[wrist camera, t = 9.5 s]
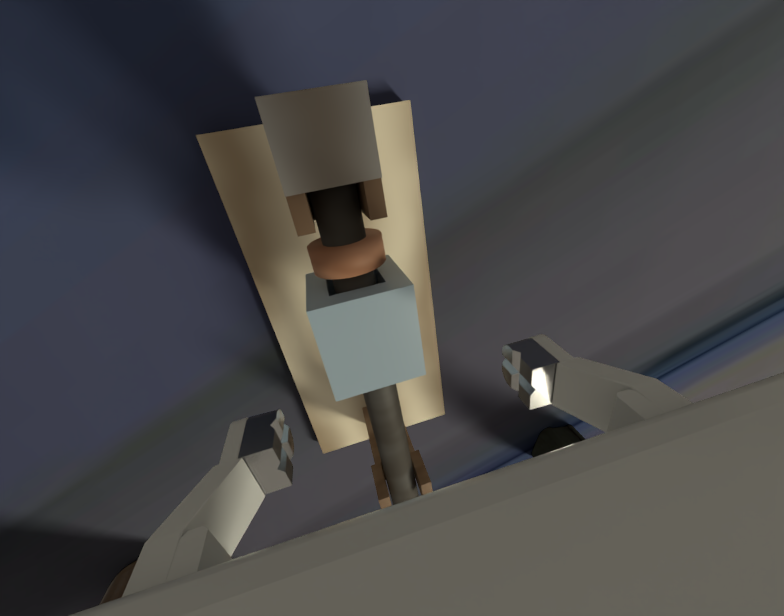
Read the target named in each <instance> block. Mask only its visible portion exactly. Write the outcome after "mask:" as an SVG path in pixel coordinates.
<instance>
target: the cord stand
mask: <svg viewBox="0 0 784 616" xmlns="http://www.w3.org/2000/svg"><path fill="white" fill-rule="evenodd" d="M255 100H256V103H257V107H258V110H259V113H260V117H261V120H262V123H263V124H261V125H255V126H249V127H243V128H237V129H231V130H225V131H219V132H212V133H206V134H200V135H196V137H197V140H198V142H199V145H200V147H201V150H202V152H203V155H204V157H205V160H206V162H207V165H208V167H209V170H210V172H211V174H212V177H213V179H214V182H215V184H216V187H217V189H218V192H219V194H220V197H221V199H222V202H223V204H224V207H225V209H226V212H227V214H228V217H229V219H230V222H231V224H232V227H233V229H234V232H235V234H236V237H237V239H238V242H239V244H240V247H241V249H242V252H243V254H244V257H245V259H246V262H247V264H248V267H249V269H250V272H251V274H252V277H253V279H254V282H255V284H256V287H257V289H258V292H259V294H260V297H261V299H262V302H263V304H264V307H265V309H266V312H267V314H268V317H269V319H270V322H271V324H272V327H273V329H274V332H275V334H276V337H277V339H278V342H279V344H280V347H281V349H282V352H283V354H284V357H285V359H286V362H287V364H288V367H289V369H290V371H291V374H292V376H293V379H294V381H295V384H296V386H297V389H298V391H299V394H300V396H301V399H302V401H303V404H304V406H305V409H306V411H307V414H308V416H309V419H310V421H311V424H312V426H313V429H314V431H315V434H316V436H317V439H318V441H319V444H320V446H321V449H322V451H323V454H324V453H327V452H330V451H333V450H336V449H339V448H342V447H345V446H348V445H352V444H355V443H358V442H361V441H364V440H367V439H369V440H370V444H371V449H372V453H373V457H374V461H375V465H372V466H371V467H372V472H373V477H374V481H375V486H376V490H377V495H378V499H379V503H380V506H381V509H383V508H386V507H389V506H392V505H391V501H390V497H389V493H388V489H387V485H386V481H385V479H386V480H387V484H388V487H389V491H390V495H391V498H392V502H393V505H395V504H398V503H401V502H404V501H407V500H410V499H413V498H416V497H418V491H417V486H416V481H415V478H416V480H417V483H418V486H419V489H420V492H421V495H424V494H427V493H430V492H432V485H431V481H430V478H429V476H428V473H427V471H426V468H425V465H424V463H423V460H422V458H421V455H420V453H419V450H416V451H414V448H413V446H412V443H411V440H410V438H409V435H408V432H407V430H406V427H407V426H410V425H413V424H416V423H419V422H422V421H425V420H429V419H432V418H435V417H438V416H441V415H444V414H445V411H444V402H443V393H442V384H441V375H440V366H439V357H438V348H437V339H436V330H435V321H434V312H433V303H432V294H431V284H430V275H429V266H428V257H427V248H426V239H425V230H424V221H423V212H422V203H421V194H420V185H419V176H418V167H417V158H416V149H415V140H414V130H413V121H412V112H411V103H410V100H407V101H401V102H395V103H389V104H383V105H377V106H371V104H370V98H369V92H368V86H367V80H365V81H358V82H351V83H345V84H338V85H332V86H325V87H318V88H312V89H305V90H298V91H292V92H285V93H279V94H272V95H265V96H259V97H255ZM385 255H389V256H390V257H391V258H392V260H393V261H394V262H395V263H396V264H397V265H398V267H399V268H400V269H401V270H402V271H403V272H404V274H405V275H406V276H407V277H408V278H409V280H410V281H411V282H412V283H413V284H414V290H415V298H416V305H417V312H418V319H419V326H420V334H421V341H422V348H423V355H424V363H425V370H426V375H423V376H420V377H416V378H413V379H410V380H406V381H403V382H400V383H396V384H393V385H390V386H387V387H383V388H380V389H377V390H373V391H370V392H367V393H363V394H360V395H357V396H353V397H350V398H347V399H344V400H340V401H337V402H336V400H335V397H334V394H333V391H332V388H331V385H330V382H329V379H328V376H327V373H326V370H325V367H324V364H323V361H322V358H321V355H320V352H319V349H318V346H317V343H316V340H315V337H314V334H313V331H312V328H311V325H310V322H309V319H308V316H307V313H306V274H309V273H313V272H314V274H315V275H316V276H317V277H319V278H322V279H331V280H332V281H333V285H334V289H335V292H336V294H339V293H343V292H347V291H351V290H355V289H359V288H363V287H367V286H371V285H375V284H376V282H375V277H374V272H373V270H375V269H377V268H378V267H380V266H381V265H382V264H383V263H384V262H385V261H386V256H385ZM414 475H415V476H414Z"/></svg>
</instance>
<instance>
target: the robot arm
mask: <svg viewBox="0 0 784 616" xmlns="http://www.w3.org/2000/svg"><path fill="white" fill-rule="evenodd" d="M502 355H503V356H504V357H505V358H506V359H505V360H504V362H503V363H502V372H503V375H504V378H505V380H506V382H507V384H508V385H509V386H510V387H511V388H512V389H514V390H517V391H519V394H518V397H519V398H520V399H521V400H522V401H523V403H524V404H525V405H526V406H527V407H528V408H529V410H531V409H534V408H538V407H541V406H545V405H548V404H552V405H553V406H555V407H557V408H559V409H561V410H563V411H565V412H567V413H569V414H571V415H573V416H575V417H577V418H579V419H581V420H583V421H585V422H587V423H589V424H591V425H593V426H595V427H597V428H599V429H601V430H602V431H604V432H606V433H604V434H601V435H598V436H595V437H592V438H589V439H586V440H583V441H580V442H577V443H574V444H571V445H569V446H566V447H563V448H560V449H557V450H554V451H551V452H548V453H545V454H542V455H539V456H536V457H533V458H530V459H527V460H524V461H521V462H519V463H516V464H513V465H510V466H507V467H504V468H501V469H498V470H495V471H492V472H489V473H486V474H483V475H480V476H477V477H475V478H472V479H469V480H466V481H463V482H460V483H457V484H454V485H451V486H448V487H445V488H442V489H439V490H436V491H433V492H430V493H427V494H424V495H421V496H418V497H416V498H413V499H410V500H407V501H404V502H401V503H398V504H395V505H392V506H389V507H386V508H383V509H380V510H377V511H374V512H371V513H368V514H365V515H362V516H360V517H357V518H354V519H351V520H348V521H345V522H342V523H339V524H336V525H333V526H330V527H327V528H324V529H321V530H318V531H315V532H312V533H309V534H307V535H304V536H301V537H298V538H295V539H292V540H289V541H286V542H283V543H280V544H277V545H274V546H271V547H268V548H265V549H262V550H259V551H256V552H254V553H251V554H248V555H245V556H242V557H239V558H236V559H232V558H231V556H232V554H233V552H234V550H235V548H236V547H237V545H238V543H239V541H240V540H241V538H242V536H243V534H244V533H245V531H246V529H247V527H248V526H249V524H250V522H251V520H252V519H253V517H254V515H255V513H256V512H257V510H258V508H259V506H260V505H261V503H262V501H263V499H264V497H265V494H268V493H271V492H274V491H277V490H280V489H282V488H285V487H288V486H291V485H292V476H293V465H292V463H291V461H290V459H291V458H292V456H293V455H294V444H293V437H292V433H291V431H290V428H289V426H287V425H285V424H284V415H283V413H282V411H281V410H279V409H278V410H274V411H271V412H267V413H263V414H259V415H255V416H251V417H249V418H245V419H241V420H237V421H233V422H232V424H231V425H230V427H229V431H228V434H227V438H226V441H225V445H224V448H223V451H222V455H221V458H220V462H219V465H216V466H214V467H213V468H212V469H211V470H210V471H209V472H208V473H207V474H206V475H205V477H204V478H203V479H202V480H201V481H200V482H199V483H198V484H197V485H196V487H195V488H194V489H193V490H192V491H191V492H190V493H189V494H188V495H187V497H186V498H185V499H184V500H183V501H182V502H181V503H180V504H179V506H178V507H177V508H176V509H175V510H174V511H173V512H172V513H171V514H170V516H169V517H168V518H167V519H166V520H165V521H164V522H163V523H162V524H161V526H160V527H159V528H158V529H157V530H156V531H155V532H154V533H153V534H152V536H151V537H150V538H149V539H148V540H147V541H146V542H145V544H144V546H143V548H142V551H141V553H140V555H139V558H138V560H137V563H136V565H135V567H134V570H133V572H132V574H131V577H130V579H129V581H128V584H127V586H126V589H125V591H124V593H123V596H122V597H121V598H118V599H115V600H112V601H109V602H106V603H103V604H101V605H98V606H95V607H92V608H89V609H86V610H83V611H80V612H77V613H74V614H71V615H68V616H784V372H783V373H780V374H777V375H774V376H771V377H769V378H766V379H763V380H760V381H757V382H754V383H751V384H748V385H745V386H742V387H739V388H736V389H734V390H731V391H728V392H725V393H722V394H719V395H716V396H713V397H710V398H707V399H704V400H701V401H698V402H695V403H692V402H691V401H689V400H687V399H686V398H684V397H683V396H681V395H680V394H678V393H677V392H675V391H674V390H672V389H671V388H669V387H668V386H666V385H665V384H663V383H662V382H660V381H659V380H657V379H655V378H651V377H648V376H644V375H640V374H637V373H633V372H630V371H626V370H623V369H619V368H616V367H612V366H608V365H605V364H601V363H598V362H594V361H591V360H587V359H583V358H580V357H577V358H574V357H572V356H571V355H570V354H568V353H567V352H566V351H565V350H563V349H562V348H561V347H559V346H558V345H557V344H556V343H554V342H553V341H552V340H551V339H549V338H548V337H547V336H545V335H543V334H540V335H537V336H533V337H530V338H528V339H524V340H521V341H517V342H514V343H510V344H507V345H504V346H503V349H502Z"/></svg>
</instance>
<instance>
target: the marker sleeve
mask: <svg viewBox="0 0 784 616" xmlns="http://www.w3.org/2000/svg"><path fill="white" fill-rule="evenodd" d="M385 256H386V261H385V262H384V263H383V264H382V265H381V266H380V267H378V268H377V269H375V270H373V272H374V277H375V282H376V284H375V285H371V286H367V287H363V288H359V289H355V290H351V291H347V292H343V293H339V294H336V292H335V289H334V285H333V281H332V280H331V279H322V278H319V277H317V276H316V275H315V274H314V272H313V273H309V274H306V313H307V316H308V319H309V322H310V325H311V328H312V331H313V334H314V337H315V340H316V343H317V346H318V349H319V352H320V355H321V358H322V361H323V364H324V367H325V370H326V373H327V376H328V379H329V382H330V385H331V388H332V391H333V394H334V397H335V400H336V402H337V401H340V400H344V399H347V398H350V397H353V396H357V395H360V394H363V393H367V392H370V391H373V390H377V389H380V388H383V387H387V386H390V385H393V384H396V383H400V382H403V381H406V380H410V379H413V378H416V377H420V376H423V375H426V370H425V363H424V355H423V348H422V341H421V334H420V326H419V319H418V312H417V305H416V298H415V290H414V284H413V283H412V282H411V281H410V280H409V278H408V277H407V276H406V275H405V274H404V272H403V271H402V270H401V269H400V268H399V267H398V265H397V264H396V263H395V262H394V261H393V260H392V258H391V257H390V256H389V255H385Z"/></svg>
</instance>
